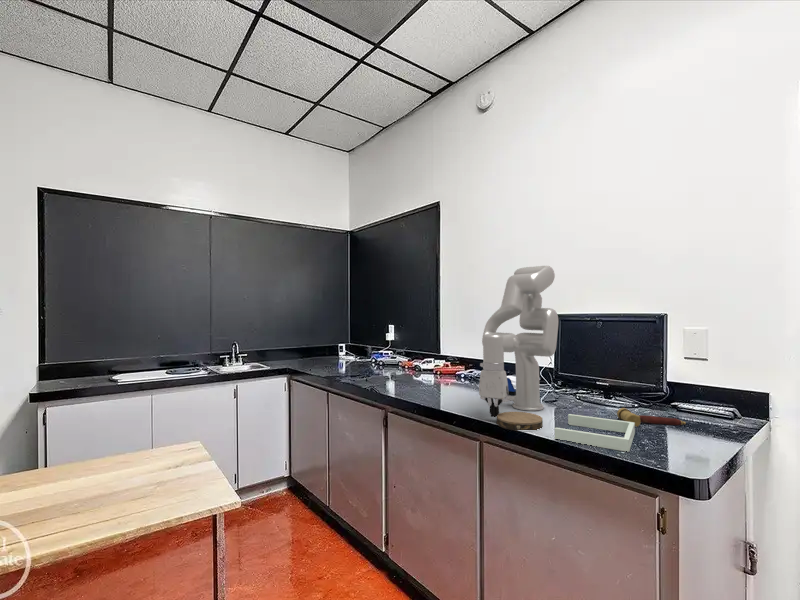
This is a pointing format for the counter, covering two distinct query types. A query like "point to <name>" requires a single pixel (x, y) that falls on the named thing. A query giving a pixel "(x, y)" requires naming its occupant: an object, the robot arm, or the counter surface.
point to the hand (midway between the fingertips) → (494, 416)
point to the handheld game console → (511, 388)
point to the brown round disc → (519, 421)
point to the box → (598, 439)
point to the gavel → (646, 418)
